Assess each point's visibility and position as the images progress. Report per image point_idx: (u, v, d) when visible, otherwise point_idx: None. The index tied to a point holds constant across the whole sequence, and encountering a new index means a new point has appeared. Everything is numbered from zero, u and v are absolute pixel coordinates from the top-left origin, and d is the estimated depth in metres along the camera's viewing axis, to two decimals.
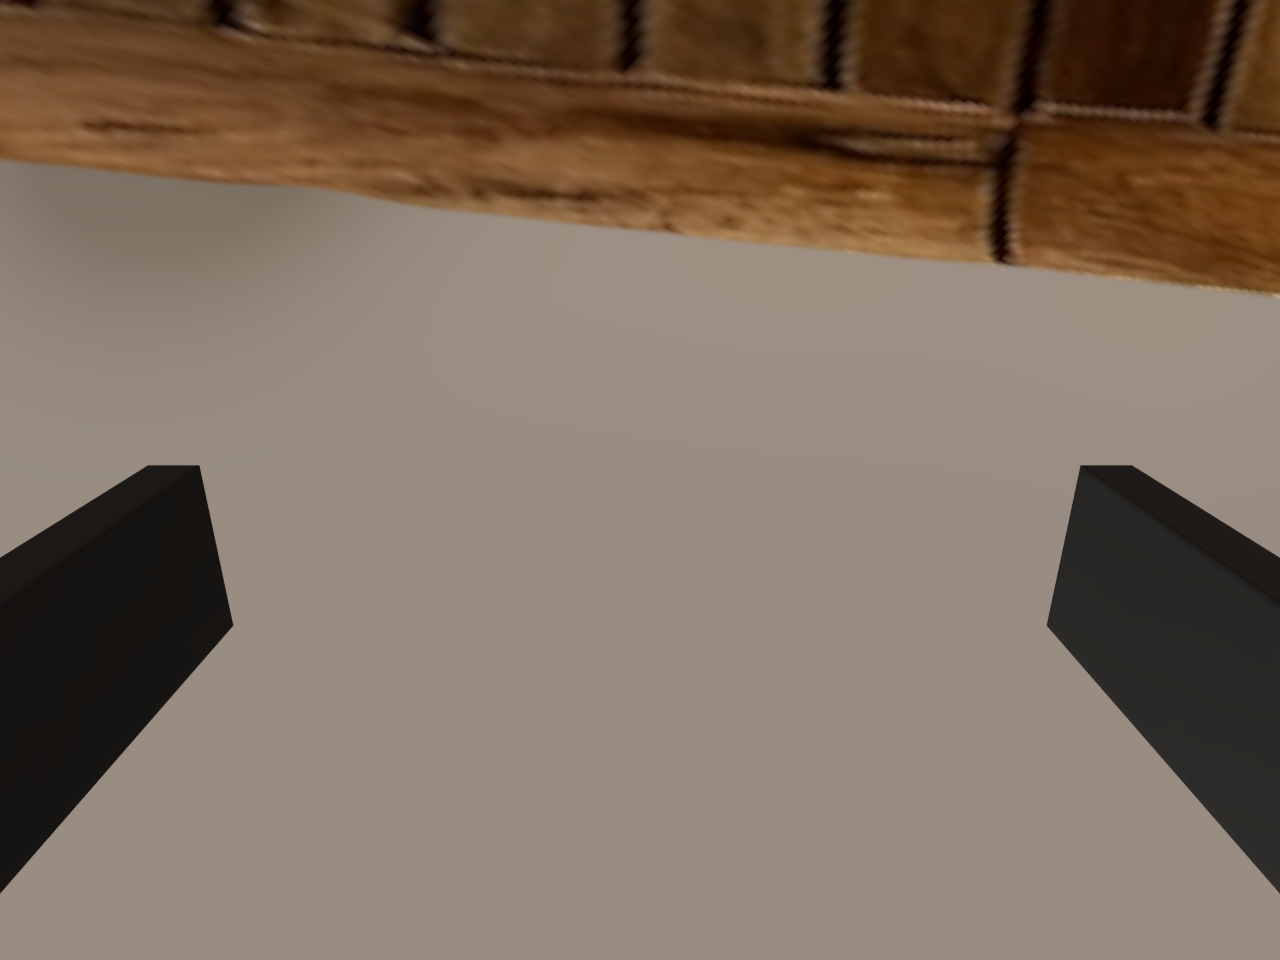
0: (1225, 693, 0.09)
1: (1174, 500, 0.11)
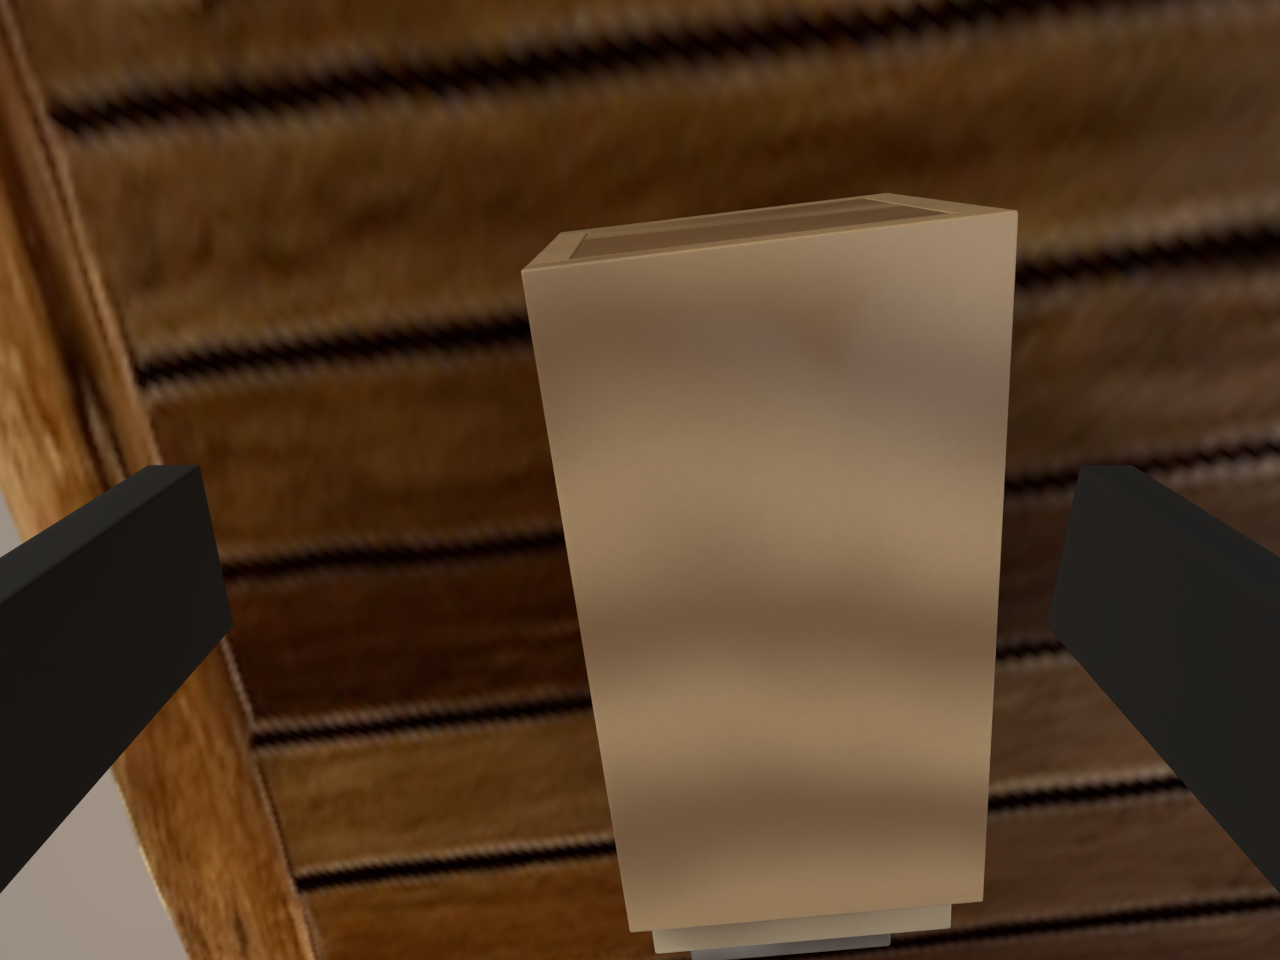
0: (1225, 693, 0.09)
1: (1174, 500, 0.11)
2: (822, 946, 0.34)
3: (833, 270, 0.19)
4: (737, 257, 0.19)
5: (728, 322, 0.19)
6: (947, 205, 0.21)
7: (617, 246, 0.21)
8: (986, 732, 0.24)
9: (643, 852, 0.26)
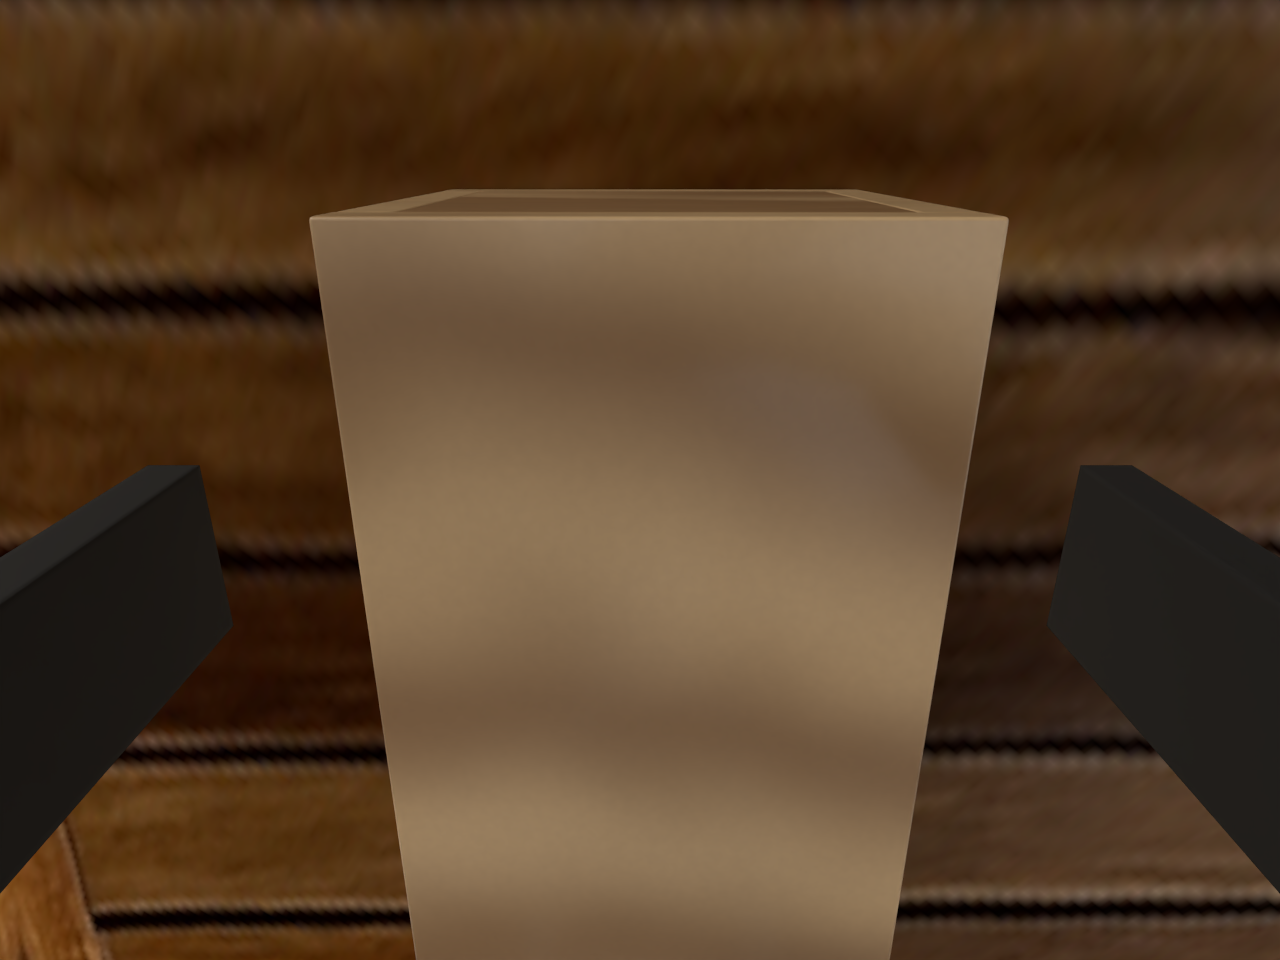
0: (1226, 694, 0.09)
1: (1174, 500, 0.11)
2: None
3: (747, 270, 0.14)
4: (614, 236, 0.13)
5: (597, 325, 0.14)
6: (919, 205, 0.16)
7: (475, 205, 0.16)
8: (895, 884, 0.19)
9: None
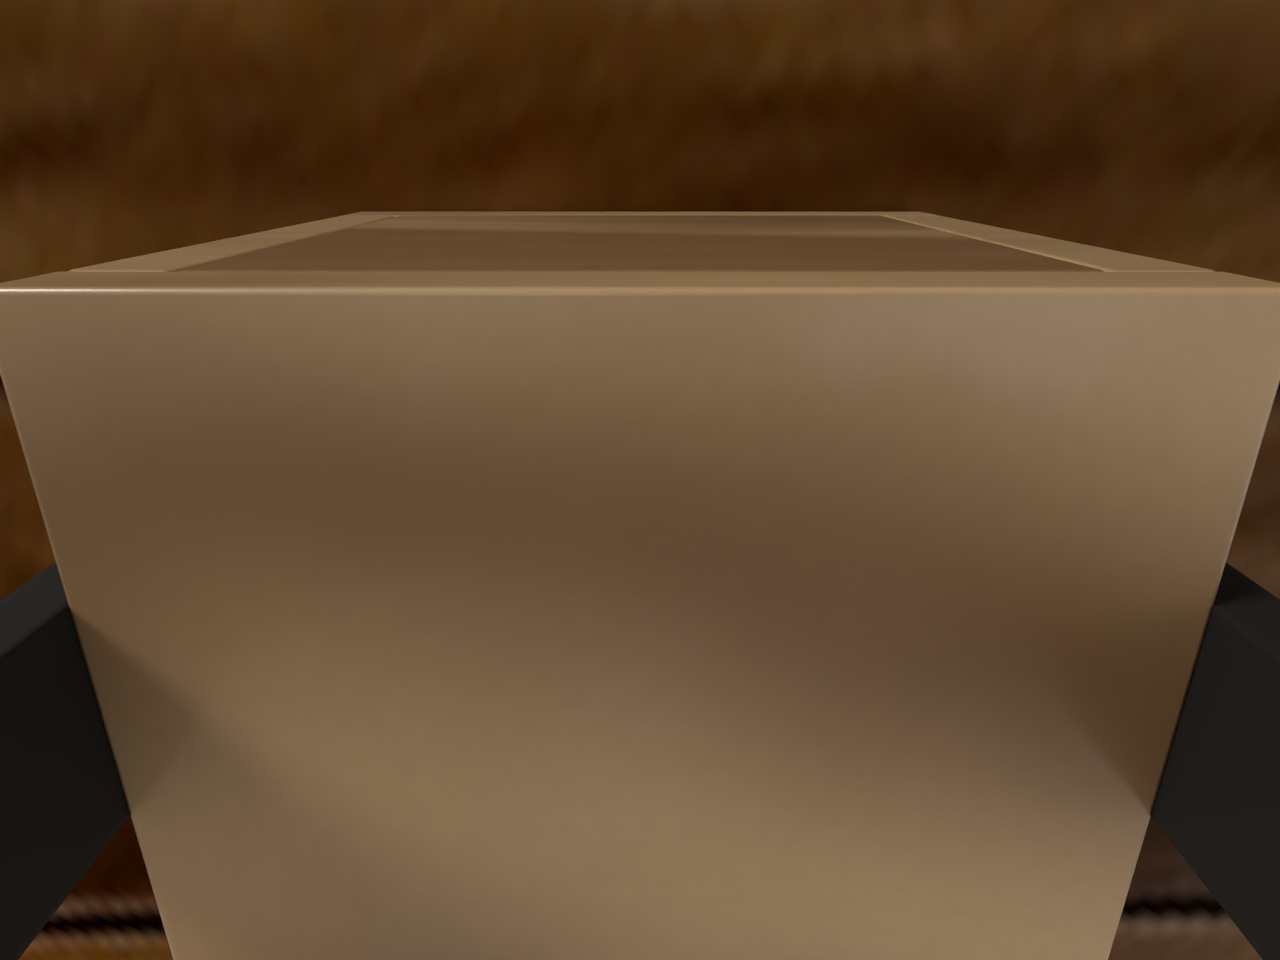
0: None
1: None
2: None
3: (808, 384, 0.07)
4: (558, 322, 0.07)
5: (531, 480, 0.08)
6: (1071, 248, 0.10)
7: (340, 251, 0.10)
8: None
9: None
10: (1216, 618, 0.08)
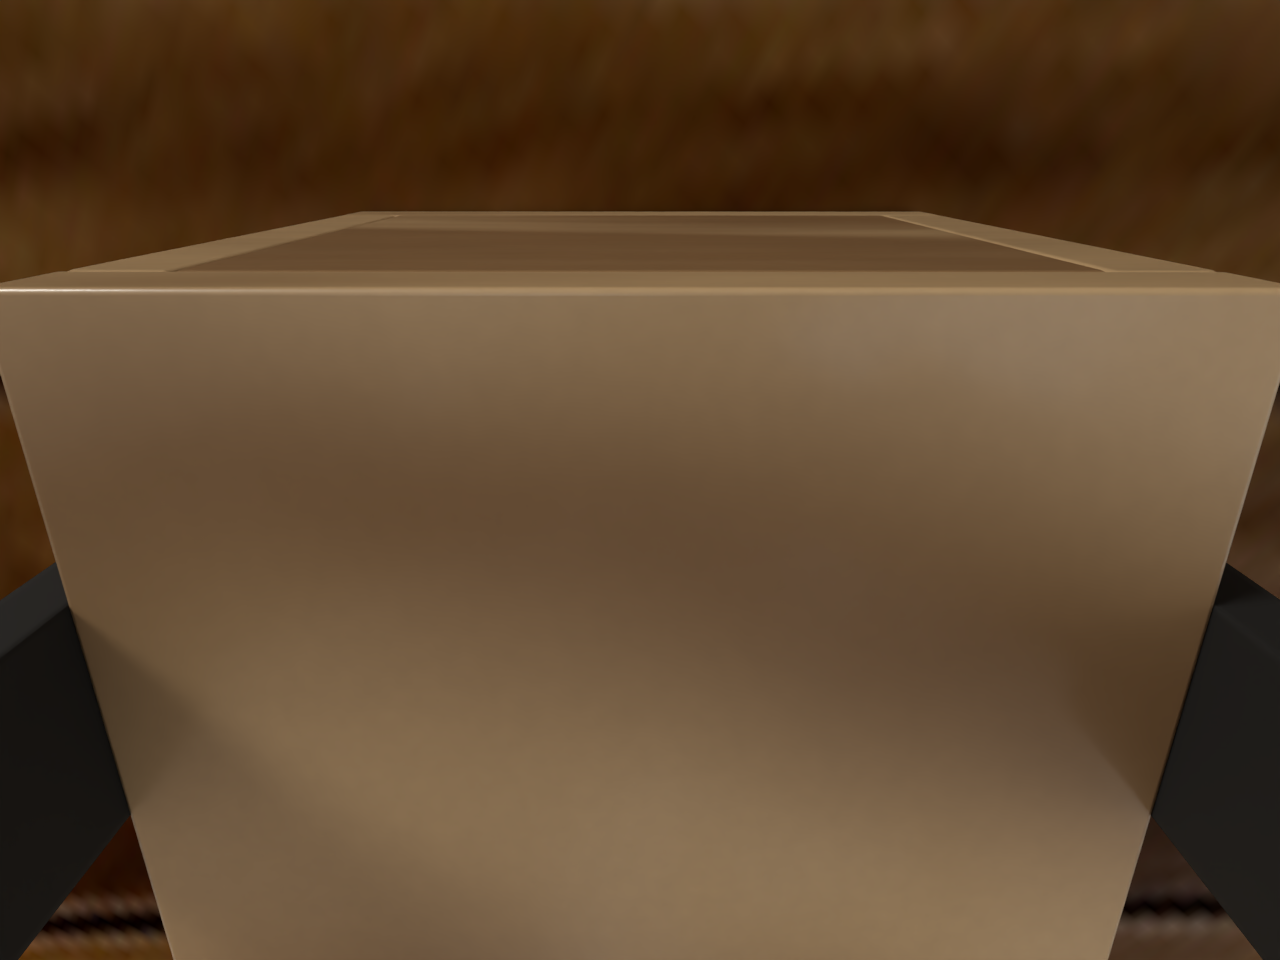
0: None
1: None
2: None
3: (808, 385, 0.07)
4: (558, 323, 0.07)
5: (531, 480, 0.08)
6: (1071, 249, 0.10)
7: (340, 251, 0.10)
8: None
9: None
10: (1216, 618, 0.08)
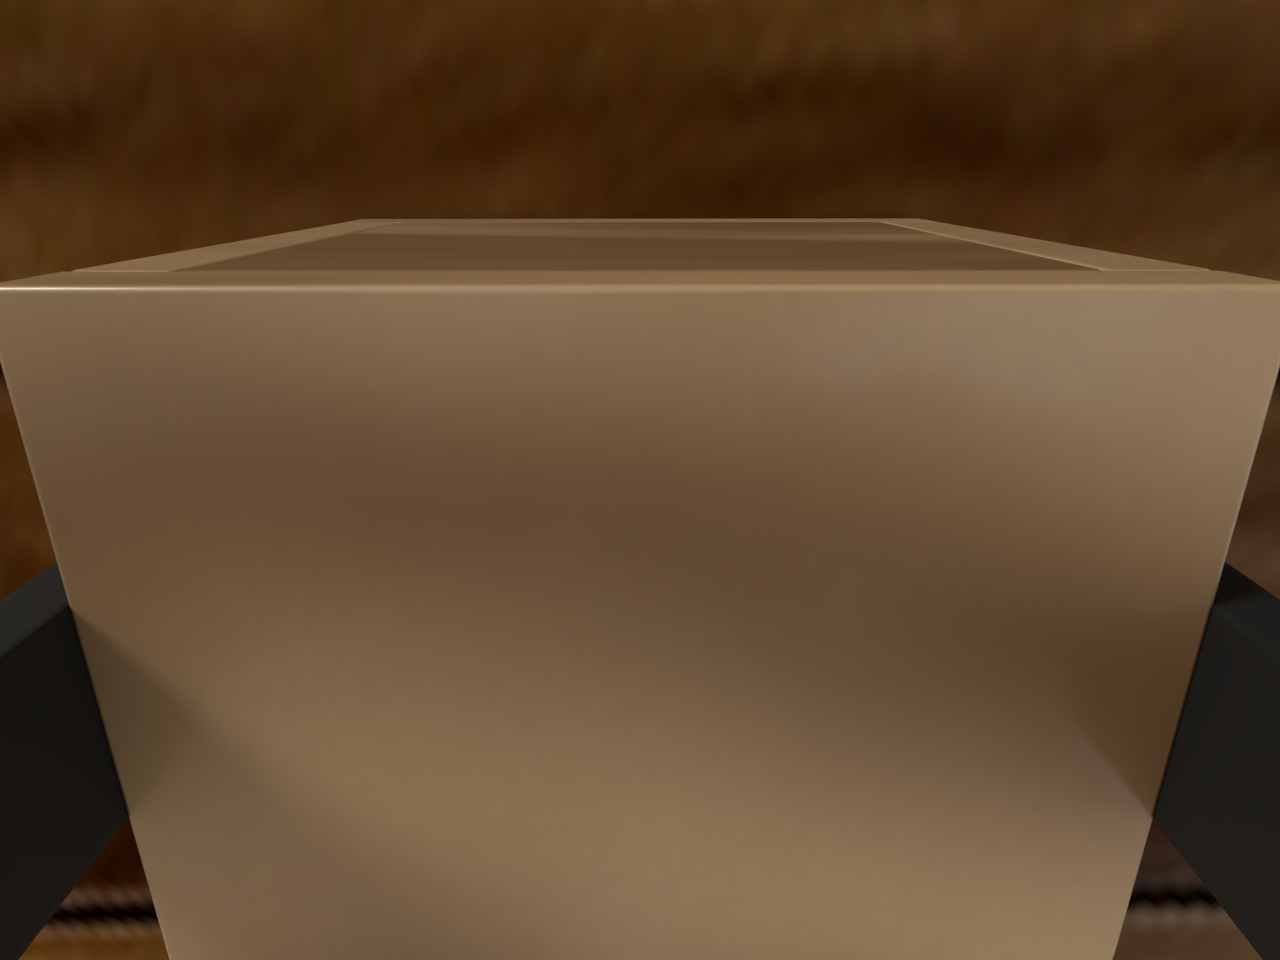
0: None
1: None
2: None
3: (807, 382, 0.07)
4: (558, 321, 0.07)
5: (531, 478, 0.08)
6: (1068, 250, 0.10)
7: (342, 254, 0.10)
8: None
9: None
10: (1216, 618, 0.08)
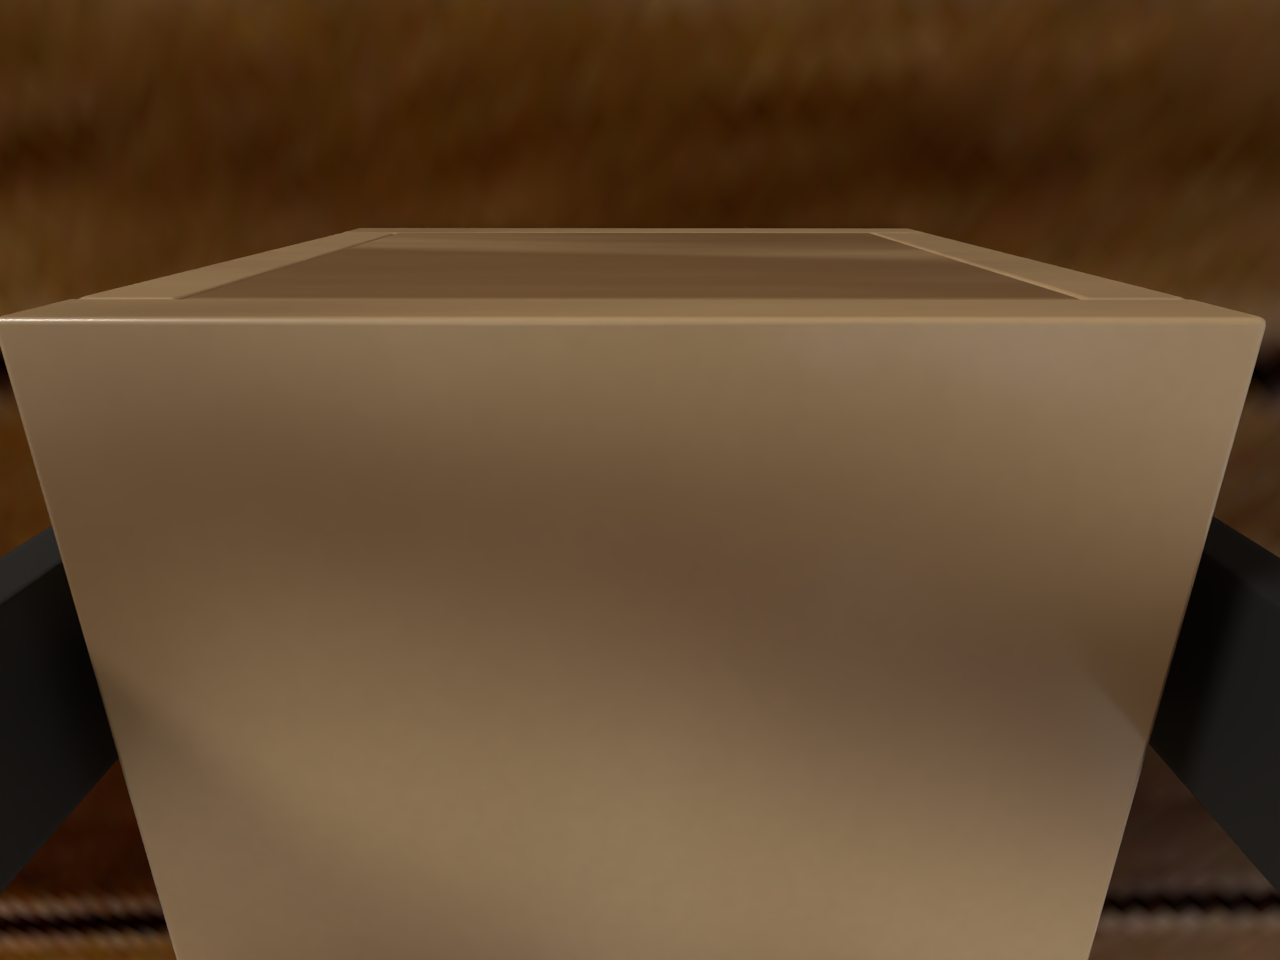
0: (1224, 693, 0.09)
1: None
2: None
3: (793, 409, 0.08)
4: (554, 351, 0.07)
5: (527, 501, 0.08)
6: (1049, 272, 0.10)
7: (342, 276, 0.10)
8: None
9: None
10: None
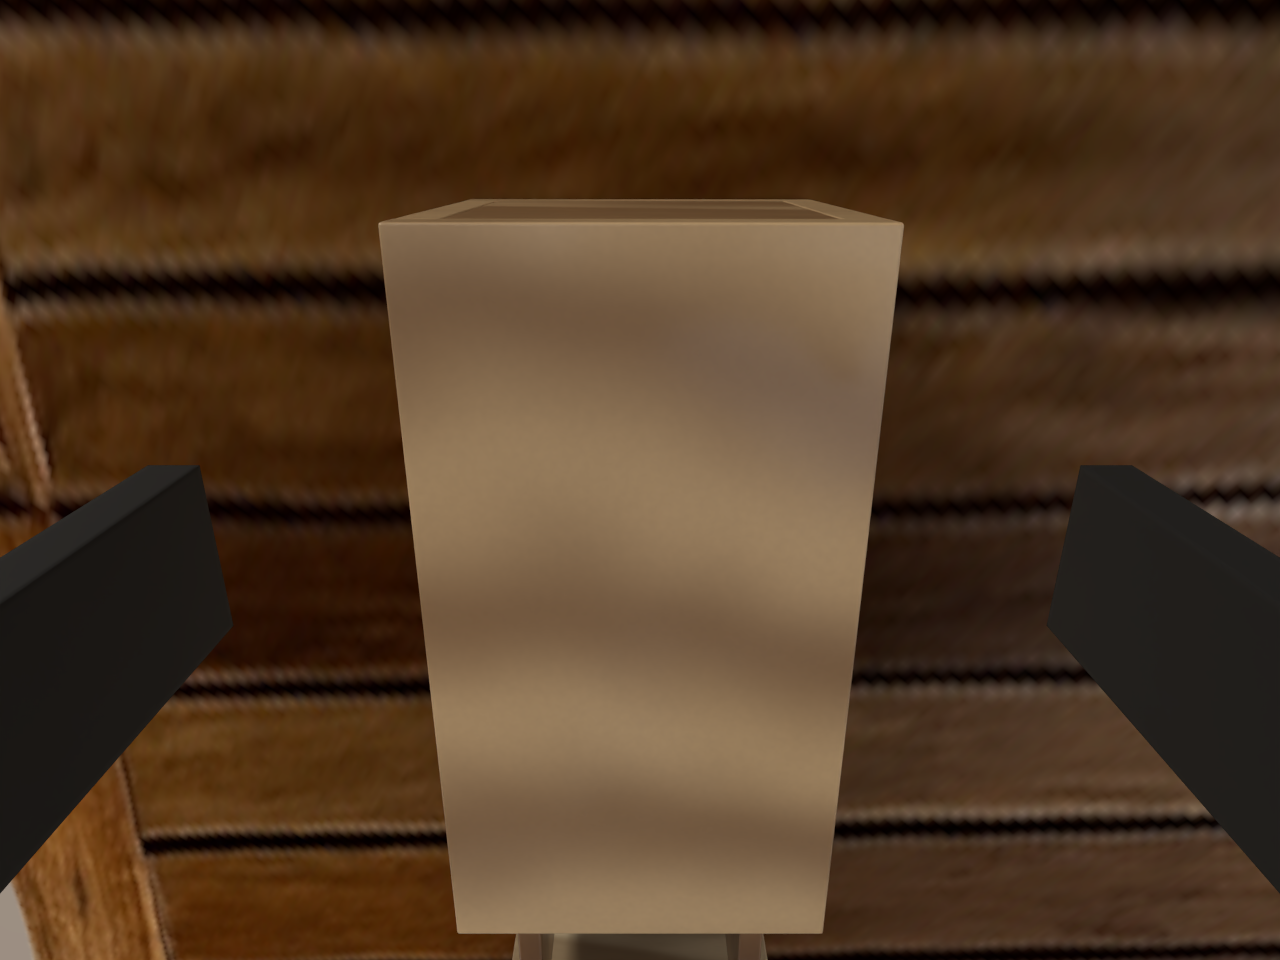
0: (1225, 693, 0.09)
1: (1174, 500, 0.11)
2: None
3: (708, 262, 0.18)
4: (608, 237, 0.18)
5: (595, 304, 0.18)
6: (847, 213, 0.21)
7: (499, 213, 0.20)
8: (836, 761, 0.23)
9: (476, 851, 0.24)
10: None
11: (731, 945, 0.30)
